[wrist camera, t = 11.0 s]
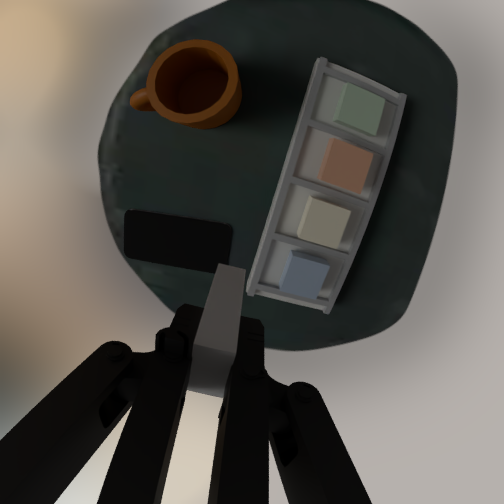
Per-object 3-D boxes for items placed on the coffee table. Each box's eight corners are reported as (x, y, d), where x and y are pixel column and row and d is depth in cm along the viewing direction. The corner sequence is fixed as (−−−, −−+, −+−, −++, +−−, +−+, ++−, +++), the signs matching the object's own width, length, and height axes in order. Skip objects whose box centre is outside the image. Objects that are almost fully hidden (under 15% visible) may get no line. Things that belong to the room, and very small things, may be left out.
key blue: (290, 249, 34) (292, 255, 32) (326, 259, 34) (330, 266, 33) (278, 283, 36) (279, 290, 34) (313, 292, 36) (315, 299, 34)
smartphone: (225, 275, 38) (123, 257, 37) (225, 273, 39) (125, 255, 38) (232, 224, 35) (124, 208, 35) (233, 222, 36) (126, 207, 35)
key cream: (309, 195, 32) (312, 198, 30) (346, 207, 32) (351, 211, 30) (296, 232, 33) (298, 238, 31) (332, 243, 34) (336, 249, 32)
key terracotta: (329, 138, 28) (334, 137, 26) (366, 153, 29) (373, 153, 27) (316, 178, 30) (320, 180, 28) (354, 191, 30) (360, 194, 28)
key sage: (342, 85, 27) (347, 82, 25) (378, 101, 27) (385, 99, 25) (332, 121, 28) (337, 119, 27) (369, 136, 29) (375, 135, 27)
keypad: (314, 62, 28) (319, 56, 25) (398, 98, 29) (408, 96, 26) (246, 284, 39) (246, 294, 36) (326, 304, 40) (330, 314, 37)
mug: (152, 67, 28) (123, 46, 20) (244, 64, 29) (241, 37, 20) (146, 131, 31) (113, 127, 23) (239, 131, 32) (234, 123, 23)
